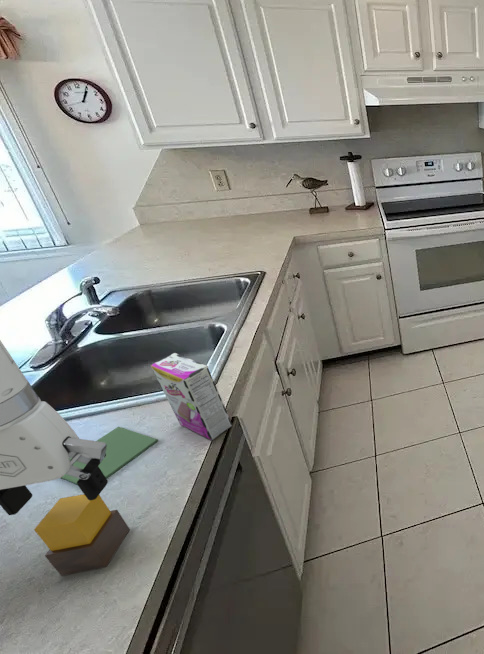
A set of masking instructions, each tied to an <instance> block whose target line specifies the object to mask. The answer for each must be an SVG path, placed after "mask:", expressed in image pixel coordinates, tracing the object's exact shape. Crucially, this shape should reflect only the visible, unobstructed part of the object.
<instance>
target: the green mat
mask: <svg viewBox="0 0 484 654" xmlns="http://www.w3.org/2000/svg"><path fill="white" fill-rule="evenodd" d="M96 441H98V442H104V443H106V444H107V447H106V453H105V454H106V456H105V458H104V459H103V460H102V462H101V463H100V464H99V466H98V467H99V468H100V470H101V471H102V473H103V474H104V476H105V477H106V479H107V480H108V478H110V477H111V476H112V475H114V474H116V473H117V472H118V471H119V470H121V469H122V468H123V467H124V466H127V464H128V463H131V461H133V460H134V459H135V458H137V457H138V456H140V455H141V454H142V453H144V452H145V451H146V450H148V449H149V448H151V447H152V446H153V445H155V444H156V443H158V442H159V440H158V439H157V438H155V437H152V436H149V435H146V434H143V433H139V432H137V431H134V430H130V429H128V428H124V427H121V426H117V427H115V428H113V429H112V430H111V431H109V432H108V433H106V434H105V435H103V436H102V437H100V438H98V439H97V440H96ZM69 459H70V460H71V459H72V458H69ZM73 466H76V467H78V468H81V469H84V467H85V466H86V464H84V463H81V462H78V461H76V462H75V463H74V464H73ZM60 479H63V480H65V481H67V482H70V483H73V484H75V485H77V481H78V480H79V478H76V477H73V476H70V475H67V474H65V475H64V476H62V477H61V478H60Z"/></svg>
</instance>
